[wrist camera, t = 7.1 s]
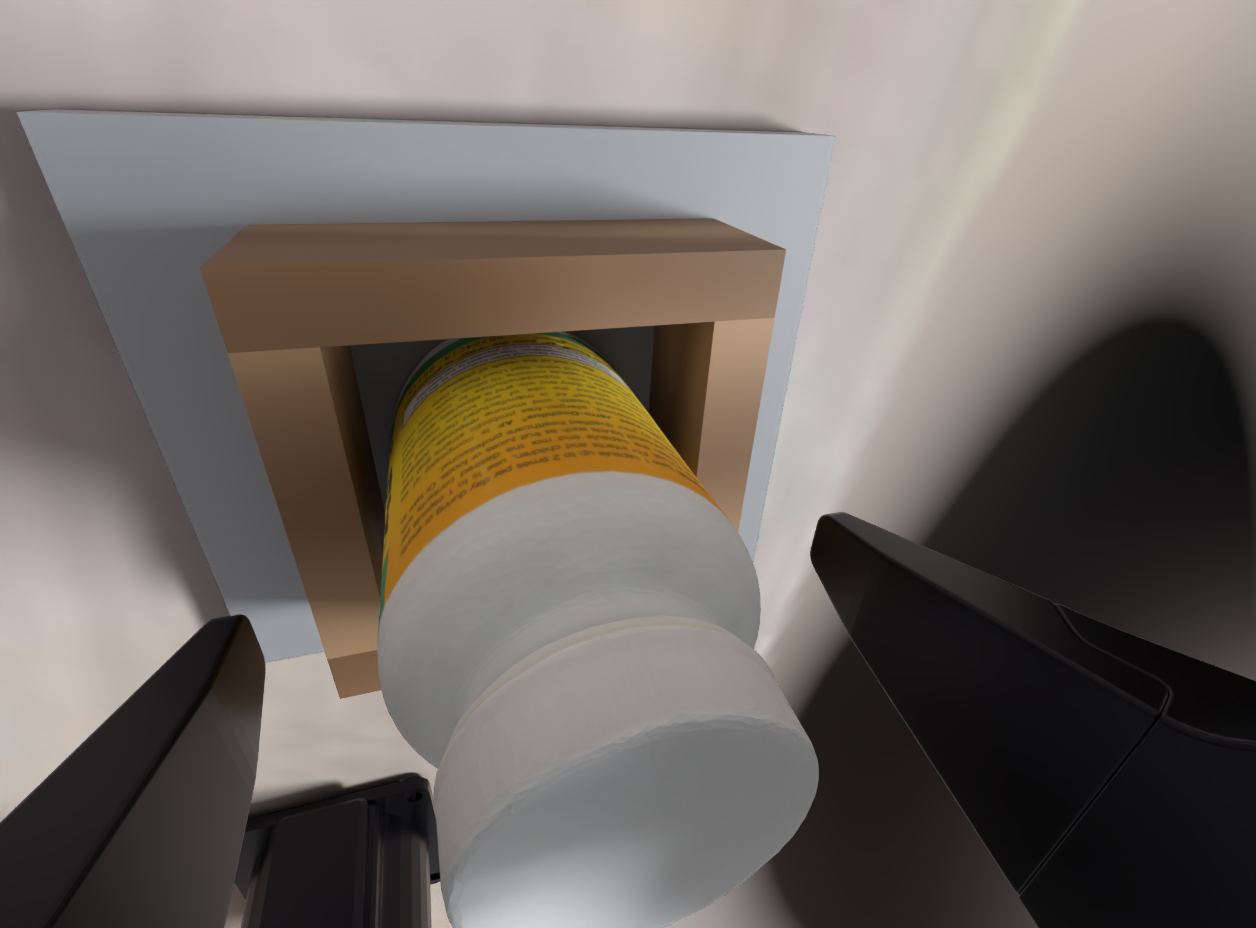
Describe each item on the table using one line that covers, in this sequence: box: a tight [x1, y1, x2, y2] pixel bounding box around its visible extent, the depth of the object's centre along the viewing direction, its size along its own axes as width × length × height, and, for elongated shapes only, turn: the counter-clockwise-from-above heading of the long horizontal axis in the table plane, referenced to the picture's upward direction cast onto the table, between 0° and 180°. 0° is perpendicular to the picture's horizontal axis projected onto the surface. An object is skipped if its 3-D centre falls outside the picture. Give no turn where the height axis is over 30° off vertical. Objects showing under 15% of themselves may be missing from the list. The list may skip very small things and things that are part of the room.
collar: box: [200, 218, 786, 699], centre depth 13 cm, size 9×9×3 cm
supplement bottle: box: [377, 331, 819, 928], centre depth 10 cm, size 5×5×10 cm
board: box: [17, 109, 836, 663], centre depth 14 cm, size 12×14×1 cm
